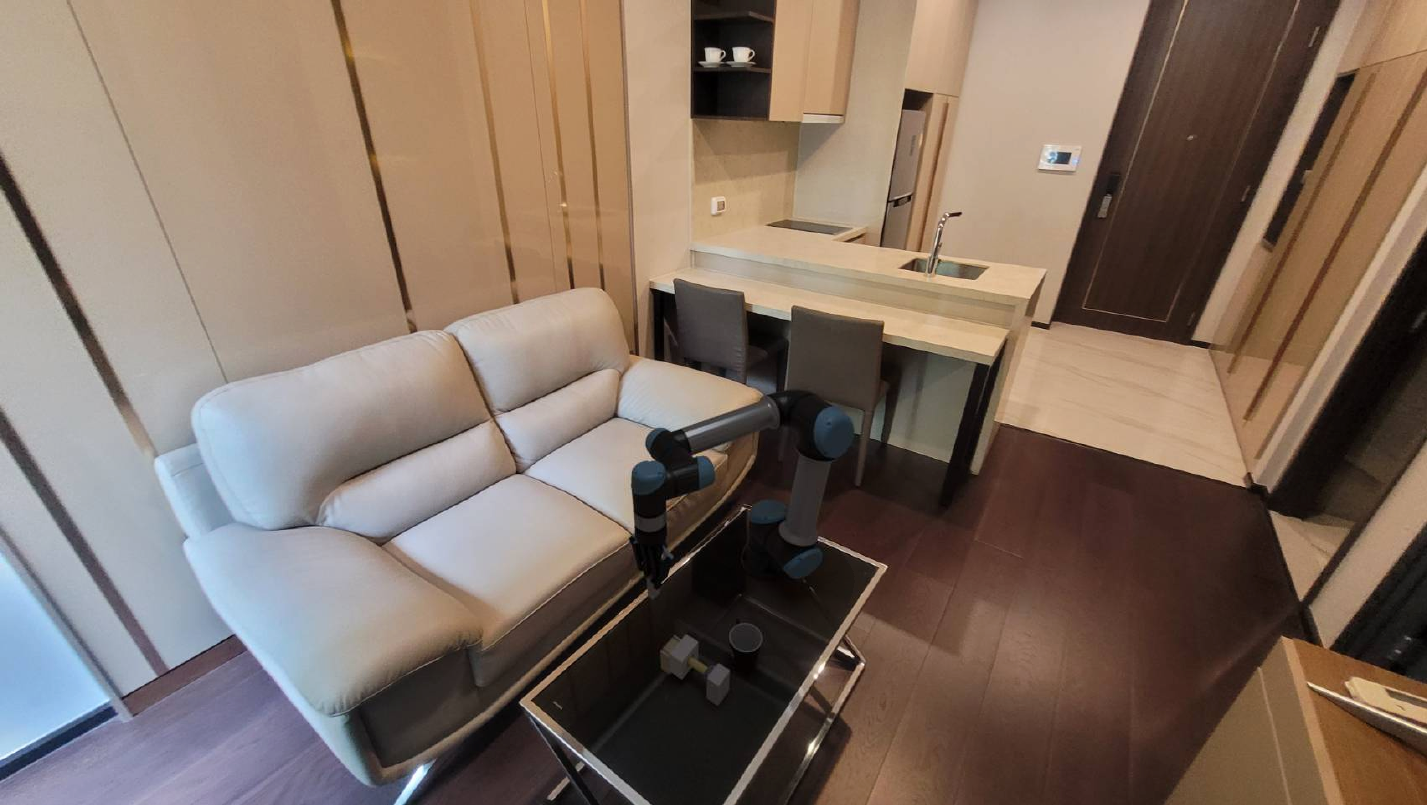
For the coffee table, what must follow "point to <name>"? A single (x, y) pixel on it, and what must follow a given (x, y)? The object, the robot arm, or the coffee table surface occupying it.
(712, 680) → the blocks on yellow rod
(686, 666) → the sleeve
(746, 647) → the coffee mug
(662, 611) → the coffee table surface
